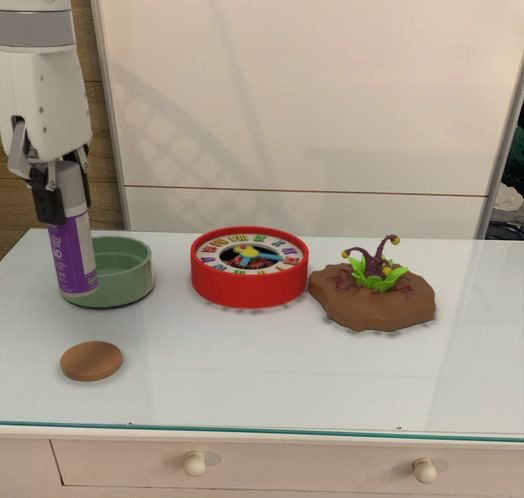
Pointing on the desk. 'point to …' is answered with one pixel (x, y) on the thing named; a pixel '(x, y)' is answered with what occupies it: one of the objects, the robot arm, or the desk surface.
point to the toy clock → (249, 267)
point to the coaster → (91, 361)
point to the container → (72, 235)
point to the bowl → (119, 272)
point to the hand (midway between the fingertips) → (65, 212)
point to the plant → (373, 292)
